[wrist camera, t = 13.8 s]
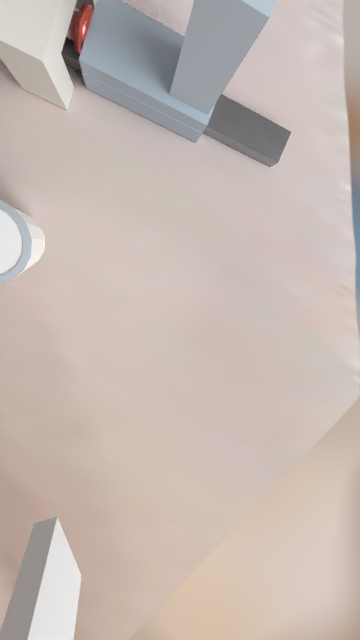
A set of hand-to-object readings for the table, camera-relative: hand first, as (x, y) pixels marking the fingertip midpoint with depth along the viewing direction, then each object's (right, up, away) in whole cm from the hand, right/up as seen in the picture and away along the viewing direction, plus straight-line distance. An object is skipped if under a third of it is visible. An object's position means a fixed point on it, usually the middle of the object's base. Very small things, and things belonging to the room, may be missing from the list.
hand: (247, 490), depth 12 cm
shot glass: (-19, +14, +21) cm, 32 cm away
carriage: (-5, +28, +19) cm, 34 cm away
